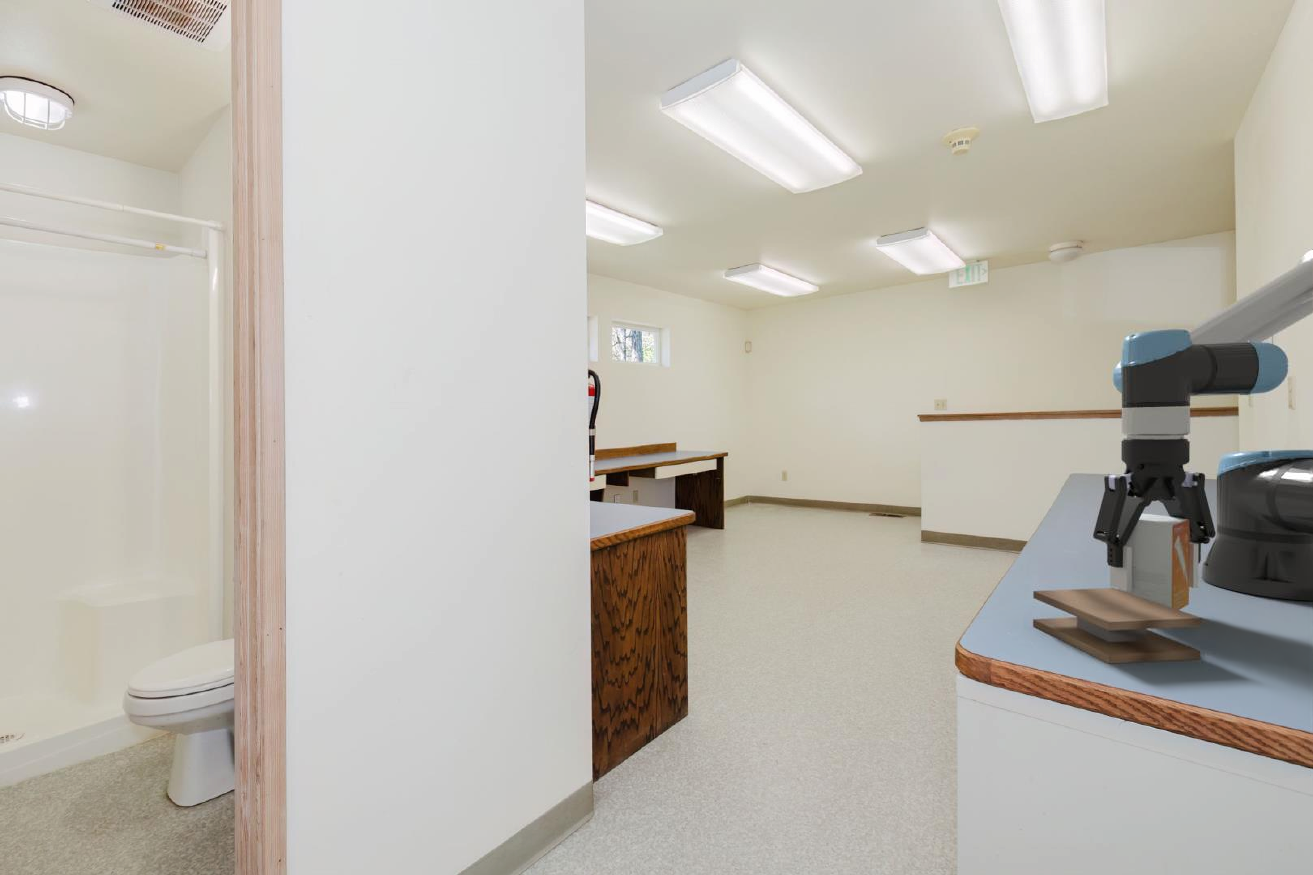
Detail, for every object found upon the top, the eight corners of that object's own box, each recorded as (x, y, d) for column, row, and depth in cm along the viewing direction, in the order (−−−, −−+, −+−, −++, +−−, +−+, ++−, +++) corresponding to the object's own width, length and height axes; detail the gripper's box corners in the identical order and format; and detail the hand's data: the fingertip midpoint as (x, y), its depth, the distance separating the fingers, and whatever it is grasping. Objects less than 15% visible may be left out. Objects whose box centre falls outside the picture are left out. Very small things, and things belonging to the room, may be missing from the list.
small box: (1172, 617, 79) (1173, 524, 78) (1116, 605, 84) (1117, 518, 83) (1190, 605, 83) (1191, 517, 83) (1136, 594, 88) (1136, 512, 88)
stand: (1112, 622, 80) (1113, 587, 80) (1200, 658, 68) (1201, 617, 68) (1032, 626, 79) (1033, 590, 79) (1108, 663, 67) (1109, 622, 67)
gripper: (1198, 434, 87) (1196, 576, 88) (1062, 438, 85) (1062, 583, 86) (1253, 435, 80) (1251, 590, 80) (1105, 440, 78) (1105, 598, 79)
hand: (1153, 586), depth 83 cm, fingers closed on small box, 10 cm apart
